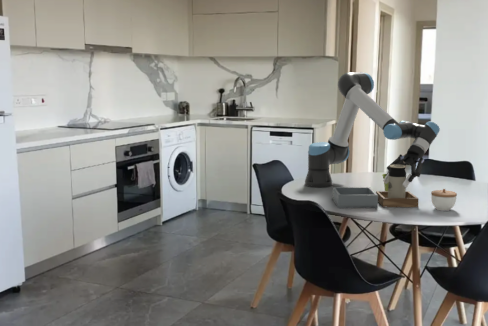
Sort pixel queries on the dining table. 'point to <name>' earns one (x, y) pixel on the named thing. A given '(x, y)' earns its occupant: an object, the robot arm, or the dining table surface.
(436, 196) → the lidded jar
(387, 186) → the plant pot
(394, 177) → the travel mug
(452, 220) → the dining table surface
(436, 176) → the dining table surface
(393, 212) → the dining table surface
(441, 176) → the dining table surface
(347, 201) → the slate bin
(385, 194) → the walnut frame
